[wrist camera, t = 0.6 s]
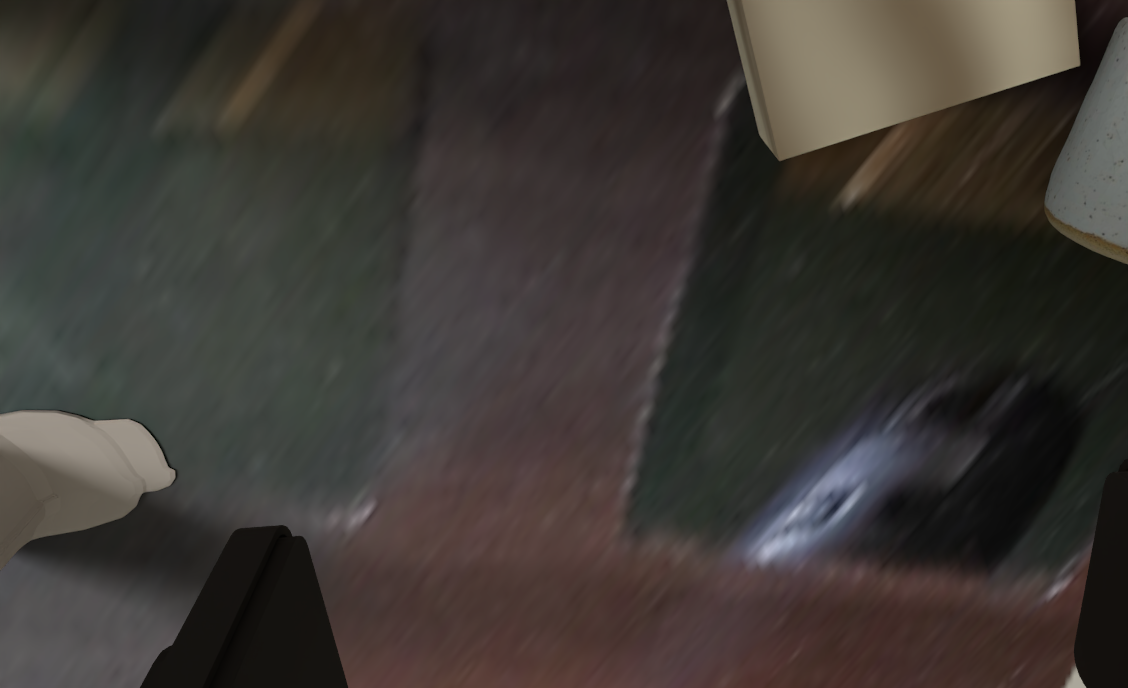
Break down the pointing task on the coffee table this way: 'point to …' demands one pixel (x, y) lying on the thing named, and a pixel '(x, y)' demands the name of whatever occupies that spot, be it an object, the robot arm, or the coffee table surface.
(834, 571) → the coffee table surface
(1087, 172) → the ceramic mug
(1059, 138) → the coffee table surface
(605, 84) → the coffee table surface
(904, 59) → the birch block
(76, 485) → the beige boot
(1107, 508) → the robot arm
